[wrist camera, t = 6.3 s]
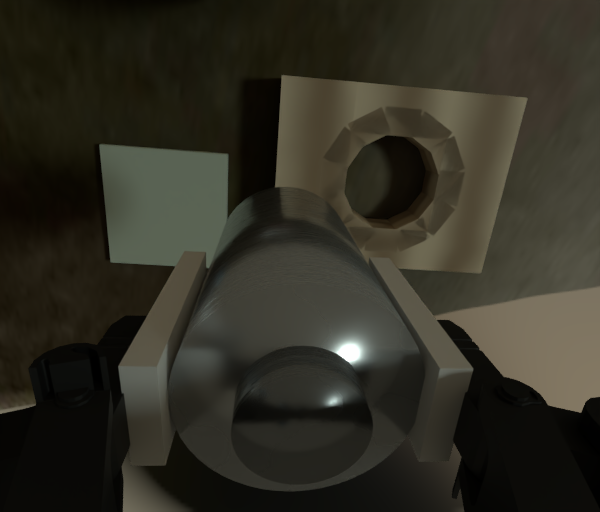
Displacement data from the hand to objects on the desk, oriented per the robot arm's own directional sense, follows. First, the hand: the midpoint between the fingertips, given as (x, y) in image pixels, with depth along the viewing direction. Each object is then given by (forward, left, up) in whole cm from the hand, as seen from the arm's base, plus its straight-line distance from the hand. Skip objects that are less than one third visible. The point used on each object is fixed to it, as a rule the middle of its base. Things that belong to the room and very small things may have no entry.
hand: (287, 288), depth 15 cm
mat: (-10, -3, -20) cm, 22 cm away
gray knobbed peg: (0, 0, -4) cm, 4 cm away
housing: (+8, +1, -20) cm, 22 cm away
